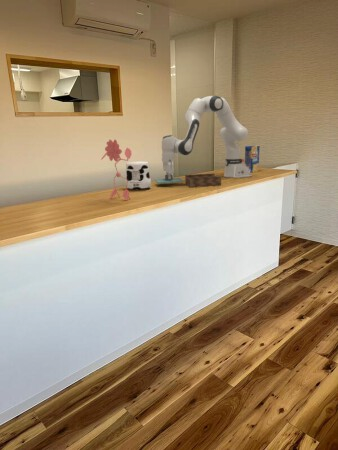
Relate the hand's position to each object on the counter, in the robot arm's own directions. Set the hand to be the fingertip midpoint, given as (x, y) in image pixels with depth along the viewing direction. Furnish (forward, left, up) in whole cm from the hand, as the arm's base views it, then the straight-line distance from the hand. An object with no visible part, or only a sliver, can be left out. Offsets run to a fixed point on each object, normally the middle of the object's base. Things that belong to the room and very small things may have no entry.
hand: (168, 178), depth 237 cm
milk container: (+23, +8, -5) cm, 25 cm away
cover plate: (0, 0, -2) cm, 2 cm away
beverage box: (-82, -38, -5) cm, 91 cm away
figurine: (+40, +39, -5) cm, 56 cm away
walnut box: (-23, +8, -5) cm, 25 cm away
